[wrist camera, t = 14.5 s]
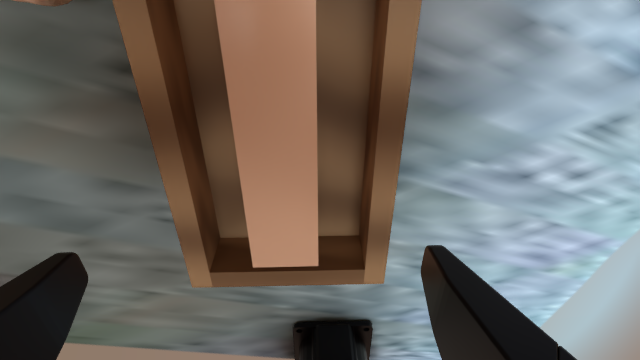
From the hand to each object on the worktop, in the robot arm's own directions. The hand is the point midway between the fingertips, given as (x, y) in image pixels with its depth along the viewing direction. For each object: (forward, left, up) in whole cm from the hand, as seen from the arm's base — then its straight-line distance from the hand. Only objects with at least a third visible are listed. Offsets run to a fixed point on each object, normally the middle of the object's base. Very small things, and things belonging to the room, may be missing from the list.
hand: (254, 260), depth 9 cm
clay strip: (0, 0, -11) cm, 11 cm away
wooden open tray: (0, 0, -12) cm, 12 cm away
